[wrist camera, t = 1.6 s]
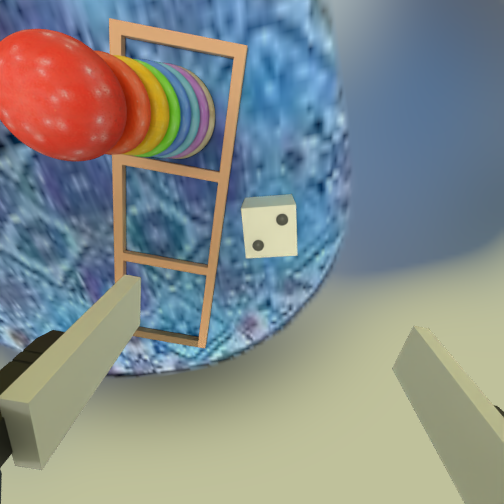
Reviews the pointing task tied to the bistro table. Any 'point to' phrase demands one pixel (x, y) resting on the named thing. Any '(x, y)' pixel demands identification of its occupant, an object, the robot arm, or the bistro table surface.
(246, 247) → the die
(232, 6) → the bistro table surface
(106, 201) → the bistro table surface
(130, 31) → the ladder
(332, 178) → the bistro table surface
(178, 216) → the bistro table surface
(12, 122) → the stacking toy
